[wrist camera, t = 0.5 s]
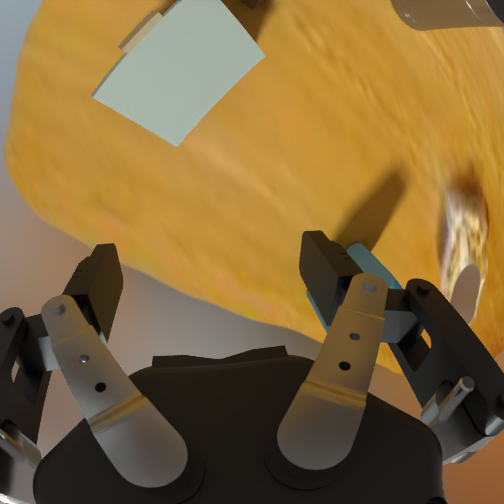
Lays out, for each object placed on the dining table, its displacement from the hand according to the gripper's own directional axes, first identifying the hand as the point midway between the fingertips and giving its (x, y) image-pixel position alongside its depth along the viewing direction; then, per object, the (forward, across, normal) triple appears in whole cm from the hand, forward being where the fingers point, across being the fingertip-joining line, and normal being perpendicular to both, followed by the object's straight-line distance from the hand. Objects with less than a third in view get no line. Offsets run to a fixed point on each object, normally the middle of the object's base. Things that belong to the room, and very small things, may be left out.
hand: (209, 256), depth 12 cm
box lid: (+17, +2, -10) cm, 20 cm away
